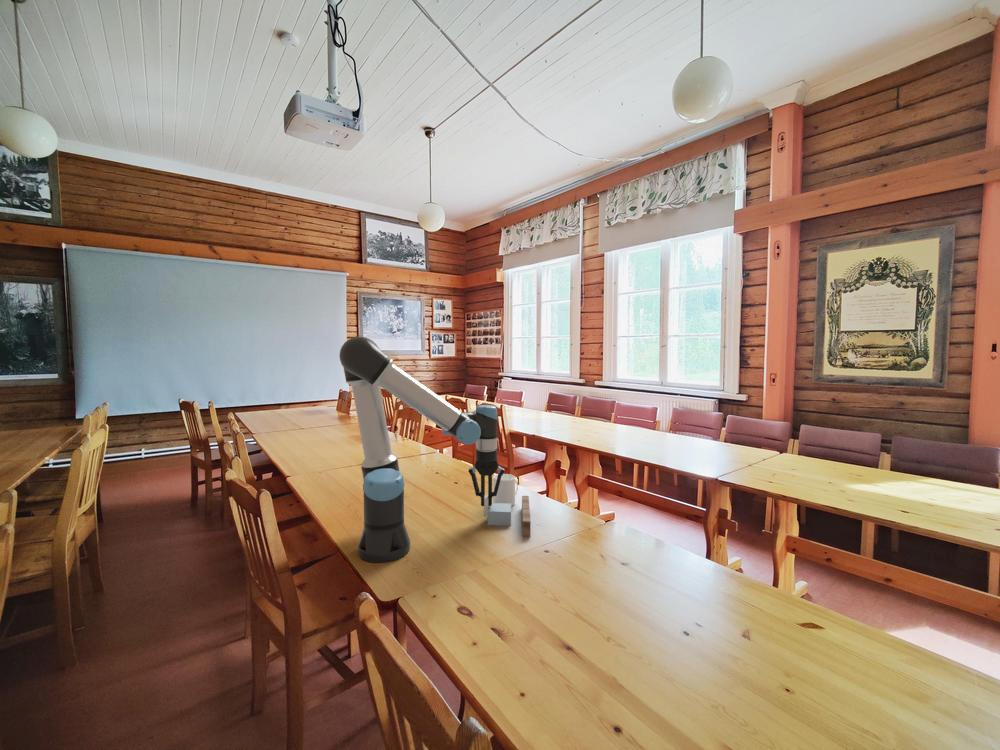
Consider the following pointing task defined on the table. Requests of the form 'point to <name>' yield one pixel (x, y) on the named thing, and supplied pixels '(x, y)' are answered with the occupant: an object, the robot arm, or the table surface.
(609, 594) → the table surface
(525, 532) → the board
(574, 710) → the table surface
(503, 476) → the mug
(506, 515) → the block
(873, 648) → the table surface
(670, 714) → the table surface
